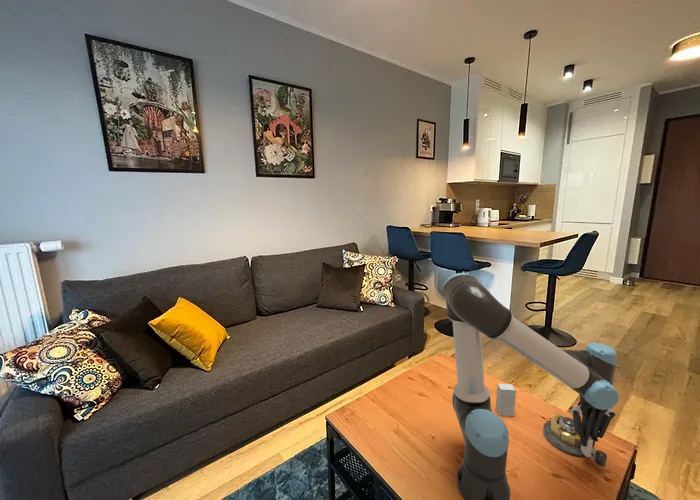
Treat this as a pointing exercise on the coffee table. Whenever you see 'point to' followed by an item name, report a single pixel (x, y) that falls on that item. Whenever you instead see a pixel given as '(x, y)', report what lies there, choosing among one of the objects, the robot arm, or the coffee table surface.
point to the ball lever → (575, 440)
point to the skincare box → (505, 399)
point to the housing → (567, 427)
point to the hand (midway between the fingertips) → (585, 453)
